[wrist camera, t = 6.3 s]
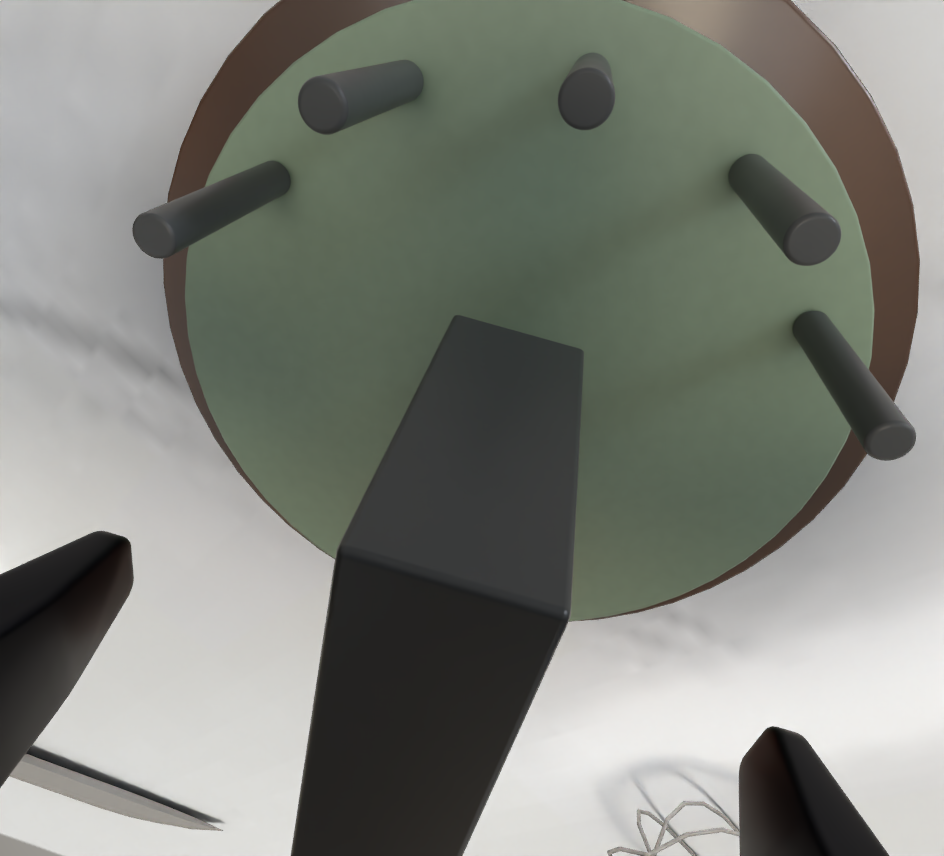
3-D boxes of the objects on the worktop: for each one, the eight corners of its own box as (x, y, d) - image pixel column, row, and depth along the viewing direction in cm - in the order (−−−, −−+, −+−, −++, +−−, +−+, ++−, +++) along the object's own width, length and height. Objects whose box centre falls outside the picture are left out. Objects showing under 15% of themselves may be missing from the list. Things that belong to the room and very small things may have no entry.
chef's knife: (216, 845, 35) (226, 825, 33) (205, 869, 34) (214, 850, 32) (-141, 707, 33) (-150, 678, 31) (-162, 728, 32) (-173, 699, 31)
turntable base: (166, 487, 22) (148, 506, 21) (213, -238, 12) (184, -258, 11) (674, 667, 22) (676, 692, 21) (1113, 107, 13) (1150, 114, 12)
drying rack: (689, 659, 20) (759, 1164, 11) (201, 519, 20) (-106, 902, 12) (1038, 112, 12) (2423, 397, 3) (199, -112, 12) (-944, -493, 3)
